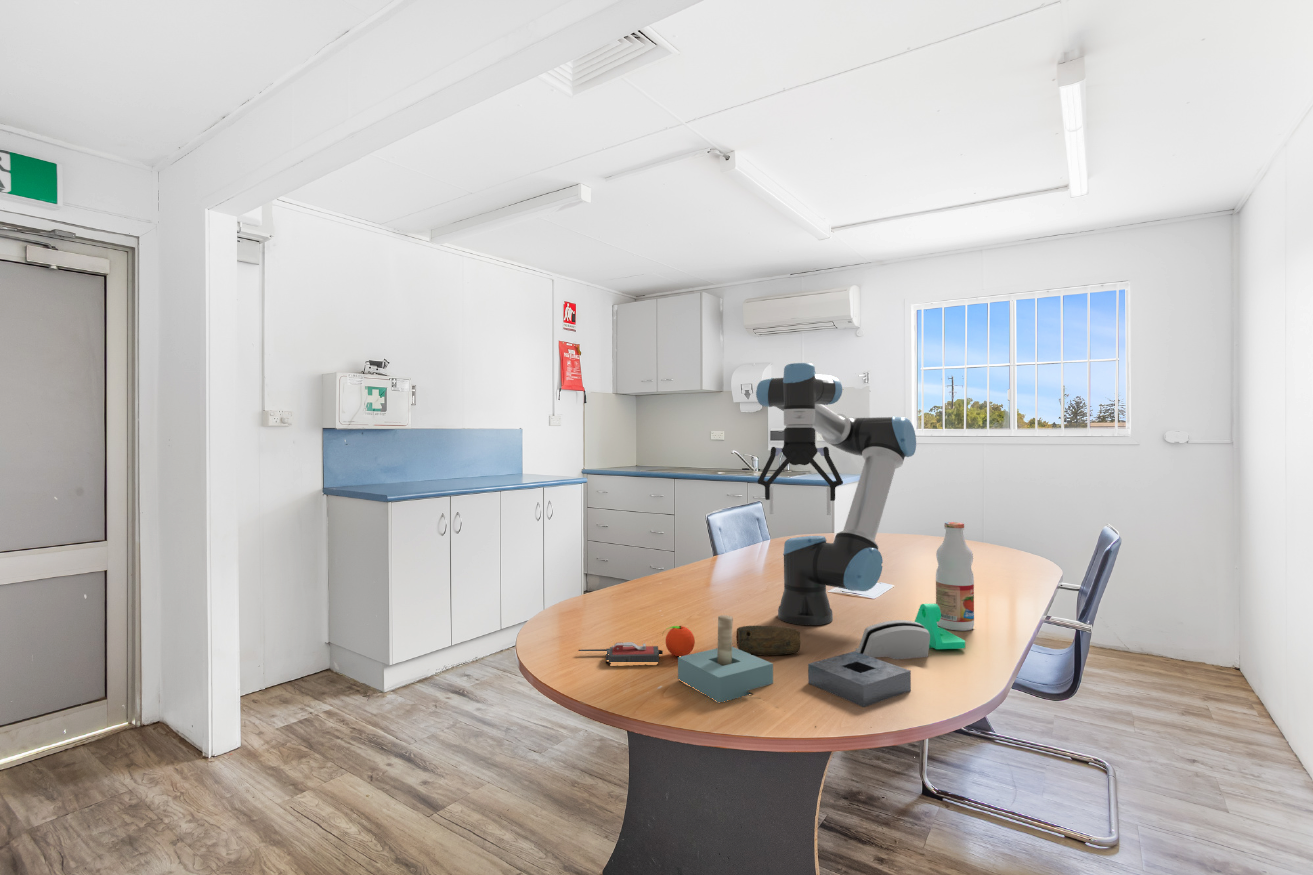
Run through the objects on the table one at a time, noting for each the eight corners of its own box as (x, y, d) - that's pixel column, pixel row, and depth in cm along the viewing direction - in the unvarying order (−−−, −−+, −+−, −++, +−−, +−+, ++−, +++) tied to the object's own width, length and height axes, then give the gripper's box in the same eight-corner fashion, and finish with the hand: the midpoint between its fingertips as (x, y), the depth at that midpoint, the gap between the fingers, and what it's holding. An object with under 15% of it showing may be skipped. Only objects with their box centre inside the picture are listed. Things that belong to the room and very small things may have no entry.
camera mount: (967, 652, 154) (966, 609, 154) (936, 653, 153) (936, 610, 153) (940, 637, 166) (940, 597, 166) (912, 638, 165) (912, 598, 165)
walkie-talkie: (662, 654, 154) (578, 655, 154) (662, 635, 154) (578, 637, 154) (664, 667, 146) (575, 669, 145) (664, 647, 146) (575, 649, 145)
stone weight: (740, 660, 149) (740, 631, 149) (734, 650, 156) (734, 622, 156) (803, 657, 151) (803, 629, 151) (794, 648, 158) (794, 620, 158)
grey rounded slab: (915, 649, 156) (924, 614, 152) (927, 662, 151) (936, 626, 148) (852, 654, 152) (860, 619, 149) (862, 668, 148) (870, 631, 145)
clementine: (657, 658, 150) (656, 628, 150) (666, 649, 157) (666, 620, 157) (689, 662, 148) (689, 631, 148) (698, 653, 154) (698, 623, 154)
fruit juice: (935, 620, 181) (934, 520, 181) (972, 623, 178) (972, 521, 178) (936, 629, 172) (936, 524, 172) (975, 633, 169) (975, 526, 169)
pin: (714, 678, 135) (715, 616, 134) (725, 675, 136) (726, 614, 136) (723, 683, 132) (724, 620, 132) (734, 680, 134) (735, 618, 134)
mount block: (808, 688, 132) (808, 663, 132) (854, 674, 140) (854, 651, 140) (863, 712, 120) (863, 685, 120) (910, 695, 128) (910, 670, 128)
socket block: (678, 680, 136) (677, 657, 136) (729, 667, 144) (729, 645, 144) (719, 703, 125) (719, 677, 125) (773, 687, 132) (772, 663, 132)
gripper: (746, 427, 156) (747, 514, 156) (853, 426, 151) (854, 516, 151) (749, 427, 164) (749, 511, 164) (851, 426, 158) (851, 513, 158)
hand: (799, 514), depth 157 cm, fingers open, 13 cm apart
